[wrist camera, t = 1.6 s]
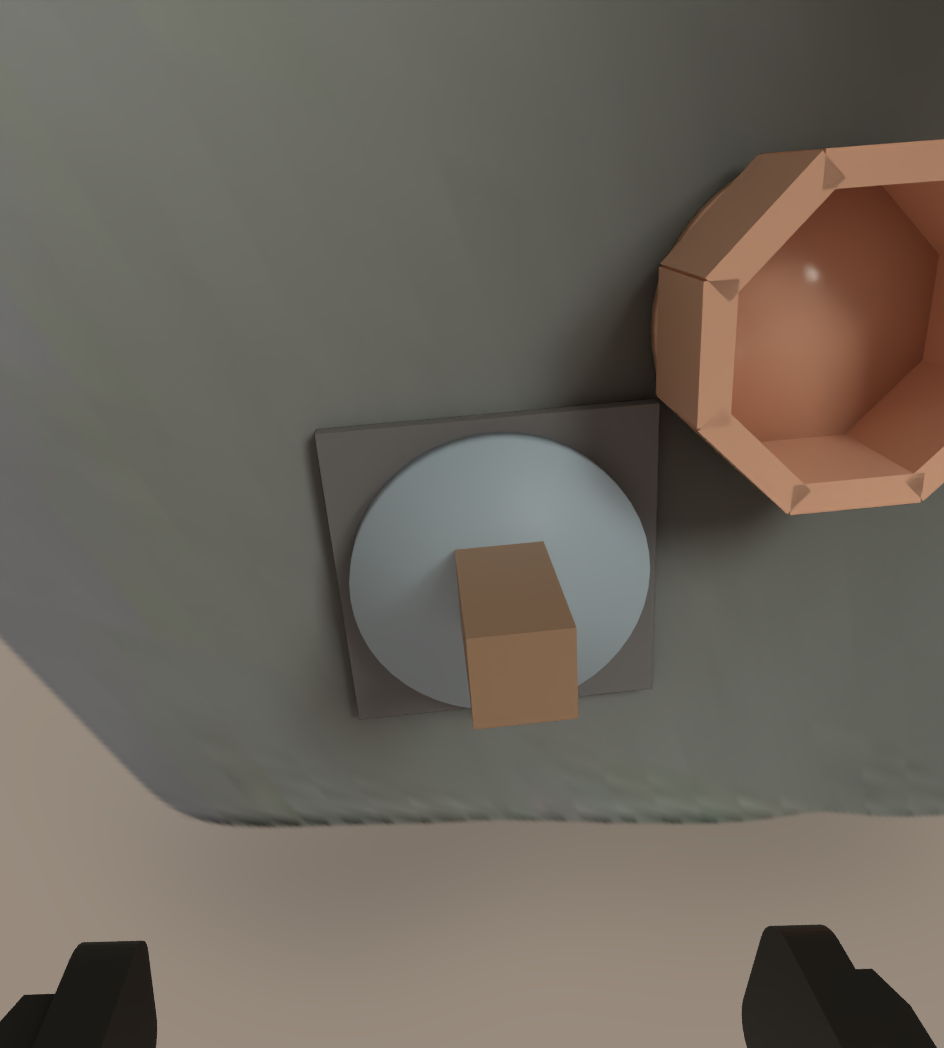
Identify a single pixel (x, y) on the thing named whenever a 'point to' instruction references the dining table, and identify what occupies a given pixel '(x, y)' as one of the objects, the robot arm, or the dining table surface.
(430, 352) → the dining table surface
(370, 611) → the lid
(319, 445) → the mat
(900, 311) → the bowl
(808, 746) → the dining table surface
